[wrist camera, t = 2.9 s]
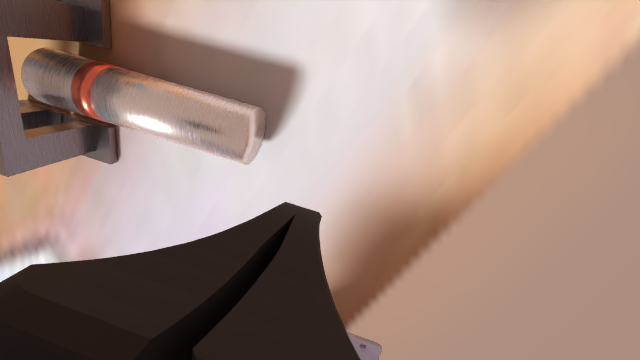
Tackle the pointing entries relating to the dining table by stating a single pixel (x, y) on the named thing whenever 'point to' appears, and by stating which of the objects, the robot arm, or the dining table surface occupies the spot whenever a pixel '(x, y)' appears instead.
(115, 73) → the silver cylinder
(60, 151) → the grey holder stand
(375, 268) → the dining table surface
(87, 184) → the dining table surface
